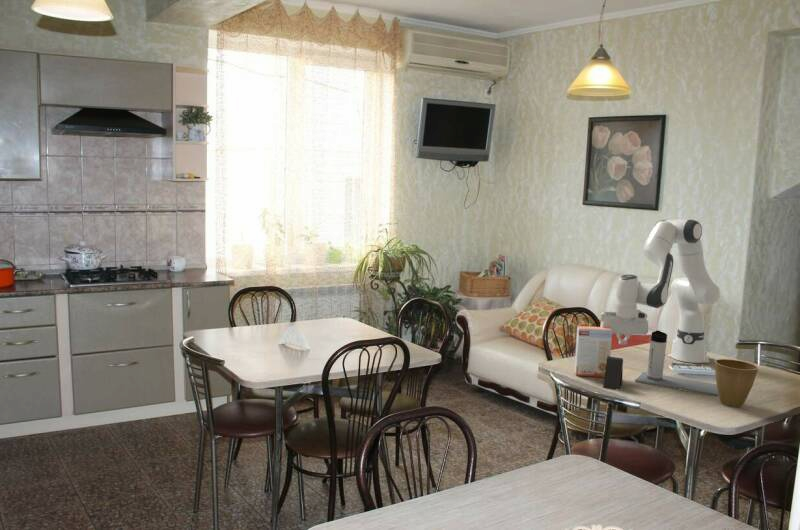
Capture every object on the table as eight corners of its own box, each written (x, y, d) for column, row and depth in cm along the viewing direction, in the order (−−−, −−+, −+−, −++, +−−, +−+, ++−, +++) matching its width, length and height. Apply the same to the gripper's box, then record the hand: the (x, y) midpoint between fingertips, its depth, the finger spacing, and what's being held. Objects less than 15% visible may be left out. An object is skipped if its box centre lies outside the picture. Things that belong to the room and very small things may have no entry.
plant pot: (717, 409, 263) (721, 367, 261) (706, 397, 277) (710, 357, 276) (759, 412, 261) (764, 370, 259) (745, 400, 275) (750, 360, 274)
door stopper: (607, 382, 292) (609, 354, 291) (622, 384, 290) (624, 356, 288) (602, 387, 285) (605, 358, 283) (618, 390, 282) (620, 361, 280)
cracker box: (606, 374, 305) (610, 327, 302) (609, 378, 299) (613, 330, 296) (573, 372, 306) (577, 325, 304) (575, 375, 300) (579, 327, 298)
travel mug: (660, 375, 302) (665, 330, 297) (663, 381, 295) (669, 335, 291) (645, 374, 302) (650, 329, 298) (648, 379, 296) (653, 334, 292)
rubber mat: (643, 373, 309) (643, 371, 309) (722, 387, 293) (722, 385, 293) (635, 381, 295) (635, 379, 295) (717, 396, 279) (717, 394, 279)
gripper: (604, 312, 299) (601, 344, 301) (651, 314, 300) (648, 346, 302) (599, 310, 305) (596, 341, 307) (645, 312, 306) (642, 343, 308)
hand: (622, 343), depth 304 cm, fingers closed
